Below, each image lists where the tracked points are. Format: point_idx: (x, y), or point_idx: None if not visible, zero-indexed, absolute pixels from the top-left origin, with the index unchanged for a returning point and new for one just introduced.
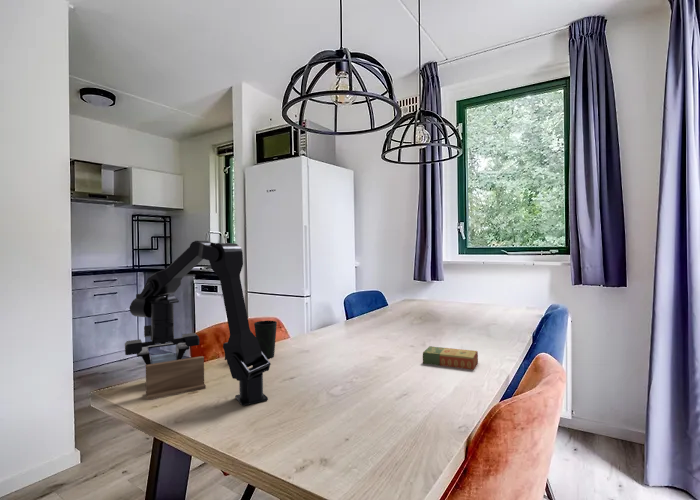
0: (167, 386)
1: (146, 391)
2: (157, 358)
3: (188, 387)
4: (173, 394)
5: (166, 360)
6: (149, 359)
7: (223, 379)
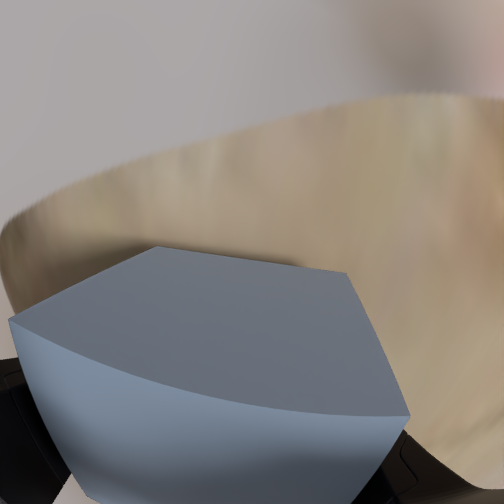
0: None
1: None
2: (113, 487)
3: None
4: None
5: None
6: (57, 487)
7: (470, 447)
